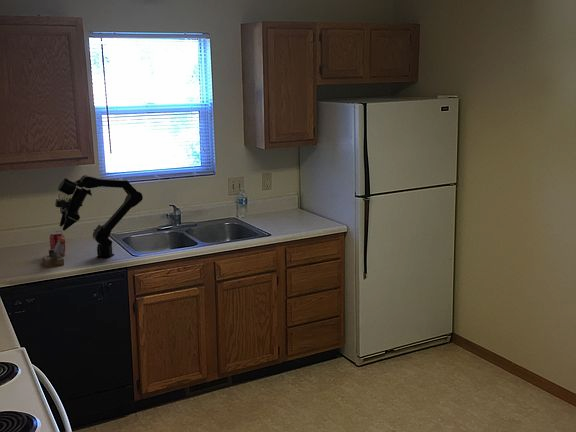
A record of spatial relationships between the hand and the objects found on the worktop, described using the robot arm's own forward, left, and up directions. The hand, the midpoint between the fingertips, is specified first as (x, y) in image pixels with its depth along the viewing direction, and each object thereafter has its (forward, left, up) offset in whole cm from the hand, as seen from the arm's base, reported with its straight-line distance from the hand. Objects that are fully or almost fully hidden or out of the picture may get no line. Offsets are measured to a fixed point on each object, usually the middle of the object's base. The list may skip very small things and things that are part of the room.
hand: (61, 228), depth 308 cm
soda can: (+10, -9, -17) cm, 22 cm away
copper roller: (+4, +4, -14) cm, 15 cm away
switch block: (+4, +4, -17) cm, 18 cm away
